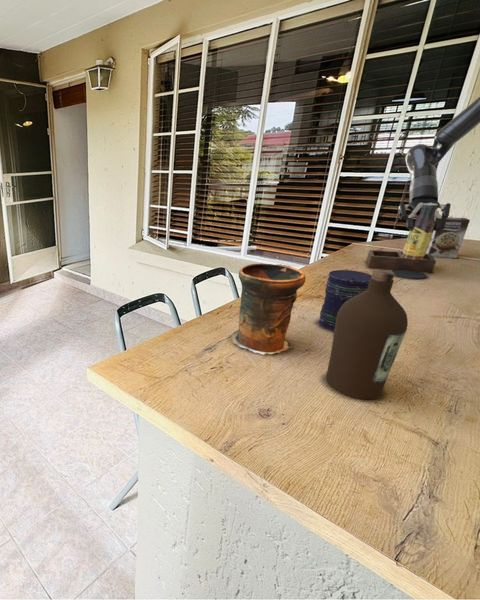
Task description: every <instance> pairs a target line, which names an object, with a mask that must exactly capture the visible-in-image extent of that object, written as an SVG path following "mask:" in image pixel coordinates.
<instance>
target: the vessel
mask: <svg viewBox="0 0 480 600" xmlns="http://www.w3.org/2000/svg"><path fill="white" fill-rule="evenodd" d="M238 279H239V281H240V284H241V294H240V306H239V313H238V314H239V315H238V329H237V330H238V332H236V333H233V334H232V339H231V340H232V344H234V345H236V346H238V347H240V348H242V349H248V351H251V352H253V353H256V354H260V355H262V356H264V355H266V354H268V355H274V354H276V353H278V354H279V353H281V352H285V351H287V350H288V349H289V348H292V346H289V342H288V341H286V336H287V331H288V329H289V326H290V323H291V318H292V311H293V308H294V304H295V302H296V301H297V298H298V294H297V293H298V290H299V289H301V288H302V287H303V286H304V285H305V283H306V280H307V279H306V274H305V273H304V272H303V271H302V270H300V269H299V268H296V267H294V266H291V265H287V264H273V263H263V262H261V263H251V264H247V265H244V266H242V267H241V268H240V269H239V271H238Z"/></svg>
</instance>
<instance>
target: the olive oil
mask: <svg viewBox="0 0 480 600" xmlns="http://www.w3.org/2000/svg"><path fill="white" fill-rule="evenodd" d="M391 271H392V270H387V269H374V270H373V271H372V272H371V275H372V277H371V278H370V281H369V285H368V289H367V290H366V291H364V292H362V293H360V294H358V295H356V296H355V297H353V298H351V299H349V300H347V301H346V302H345V303H344V304H343V305H342V306H341V308H340V309H339V311H338V314H337V318H336V324H335V331H334V332H333V337H332V342H331V343H332V344H331V349H330V355H329V361H328V366H327V370H326V375H325V380H326V383H327V385H328V386H329V387H331V388H332V389H333V390H335V391H336V392H338V393H340V394H342V395H345V396H348V397H351V398H354V399H359V400H360V399H361V400H374V399H378V398H379V397H381V395H382V394H383V391H384V388H385V386H386V383H387V380H388V378H389V375H390V373H391V370H392V367H393V365H394V362H395V360H396V357H397V355H398V352H399V350H400V348H401V345H402V342H403V340H404V337H405V336H406V332H407V330H408V326H409V325H408V324H409V323H408V322H409V321H408V315H407V311H406V310H405V309H404V307H403V306H402V305H401V304H400V303H399V301H397V299H396V298H395V297H394V296H393V294H392V293H391V291H392V288H393V284H394V283H395V280H394V278H395V276H394V275H395V273H393V272H391Z"/></svg>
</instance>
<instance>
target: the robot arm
mask: <svg viewBox="0 0 480 600" xmlns="http://www.w3.org/2000/svg"><path fill="white" fill-rule="evenodd" d="M478 125H480V96H478V97H477V98H476V99H475V100H474V101H473V102H472V103H471V104H469V105H468V106H467V107H466V108H464V109H463V110H462V111H460V113H458V114H457V115H456V116H454V118H452V119H451V120H450V121H448V122H447V123H446V124H444V126H443V127H442V128H440V129H439V130H438V131H437V132H436V133H435V134H434V140H435V141H436V142H437V144H436V145H435V146H434V147H431V146H429V145H427V144H424V143H419V144H415V145H413V146H412V147H410V149H408V151H407V152H406V154H405V157H404V158H405V159H404V160H405V164H406V167H407V170H408V172H409V175H410V179H409V180H410V181H409V182H410V184H409V190H408V194H409V199H408V200H409V201H408V204H405V203H404V202H402V203H401V202H400V204H399V206H398V208H397V212H398V216H399V218H398V219H399V220H400V221H405V222H406V229H408V231H410V230H412V229H413V226H414V222H415V220H414V217H416V216H419V215H420V212H421V209H422V208H421V207H422V204H424V203H434V204H438V208H437V209H436V211H435V214H434V221H435V227H434V231H437V230H438V229H439V228H440V227H441V221H445V220H446V219H447V217H450V212H451V205H452V204H451V203H446V204H444V203H443V204H441V203H440V202H439V183H438V179H437V177H438V176H437V168H436V167H435V166H437V164H439V163H440V162H441V161H442V159H443V158H445V156H446V155H447V154H448V152H449V151H450V150H451V149H452V148H453V146H454V145H455V144H456V143H457V142H459V141H461V139H463V138H464V137H465V136H466V135H468V134H469V133H470V132H471V131H473V130H474V129H475V128H476V127H477V126H478ZM407 209H408V210H409V211H411V213H410V214H409V215H408V214H407ZM438 209H439V210H440V211H439V210H438ZM440 212H441V214H440Z"/></svg>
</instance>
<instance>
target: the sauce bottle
mask: <svg viewBox="0 0 480 600" xmlns="http://www.w3.org/2000/svg"><path fill="white" fill-rule="evenodd" d="M421 208H422V209H421V212H420V215H418V217H417V218H416V219H415V220H414V226H413V229H412V230H409V232H408V234H407V238H406V241H405V244H404V248H403V250H402V252H403V255H402V257H403V258H406V259H410V260H422V259H423V258H424V256H425V254H426V251H427V248H428V246H429V243H430V240H431V237H432V234H433V230H434V227H435V221H434V214H435V211H436V209H437V210H438V209H439V208H438V204H434V203H424V204H422V207H421Z"/></svg>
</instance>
